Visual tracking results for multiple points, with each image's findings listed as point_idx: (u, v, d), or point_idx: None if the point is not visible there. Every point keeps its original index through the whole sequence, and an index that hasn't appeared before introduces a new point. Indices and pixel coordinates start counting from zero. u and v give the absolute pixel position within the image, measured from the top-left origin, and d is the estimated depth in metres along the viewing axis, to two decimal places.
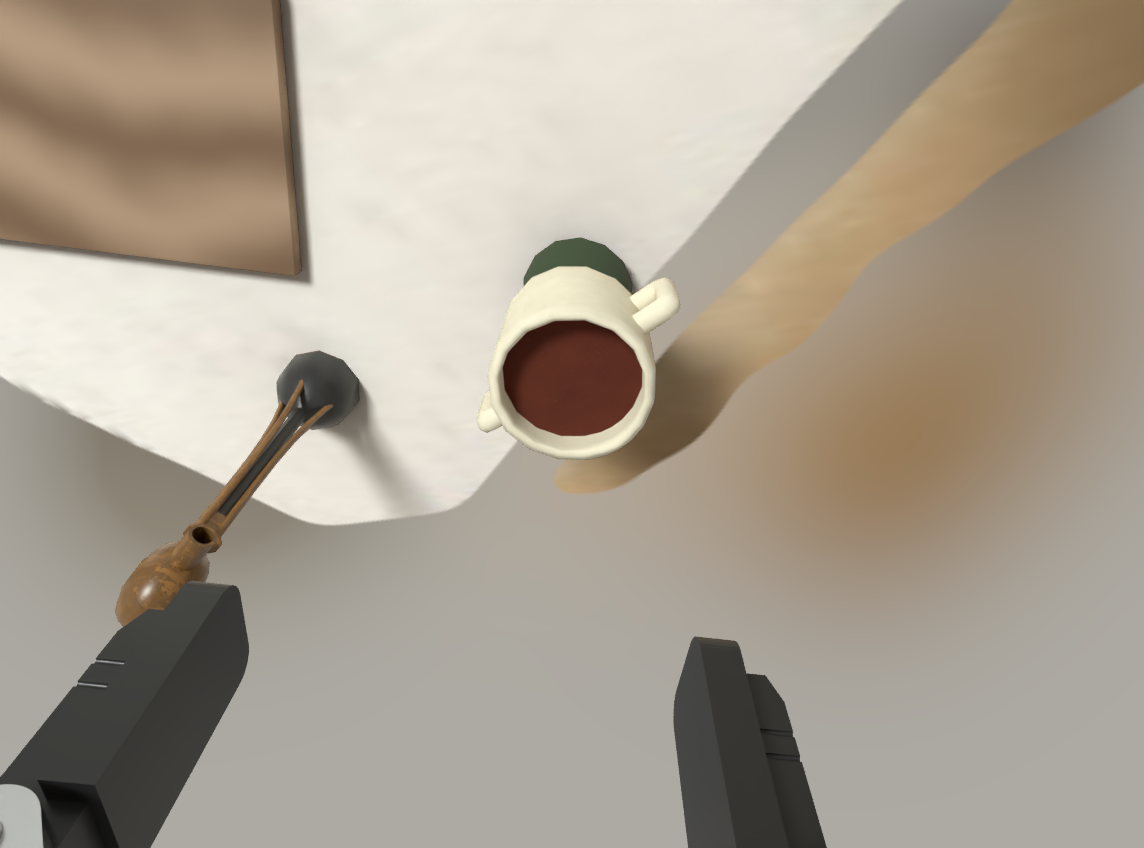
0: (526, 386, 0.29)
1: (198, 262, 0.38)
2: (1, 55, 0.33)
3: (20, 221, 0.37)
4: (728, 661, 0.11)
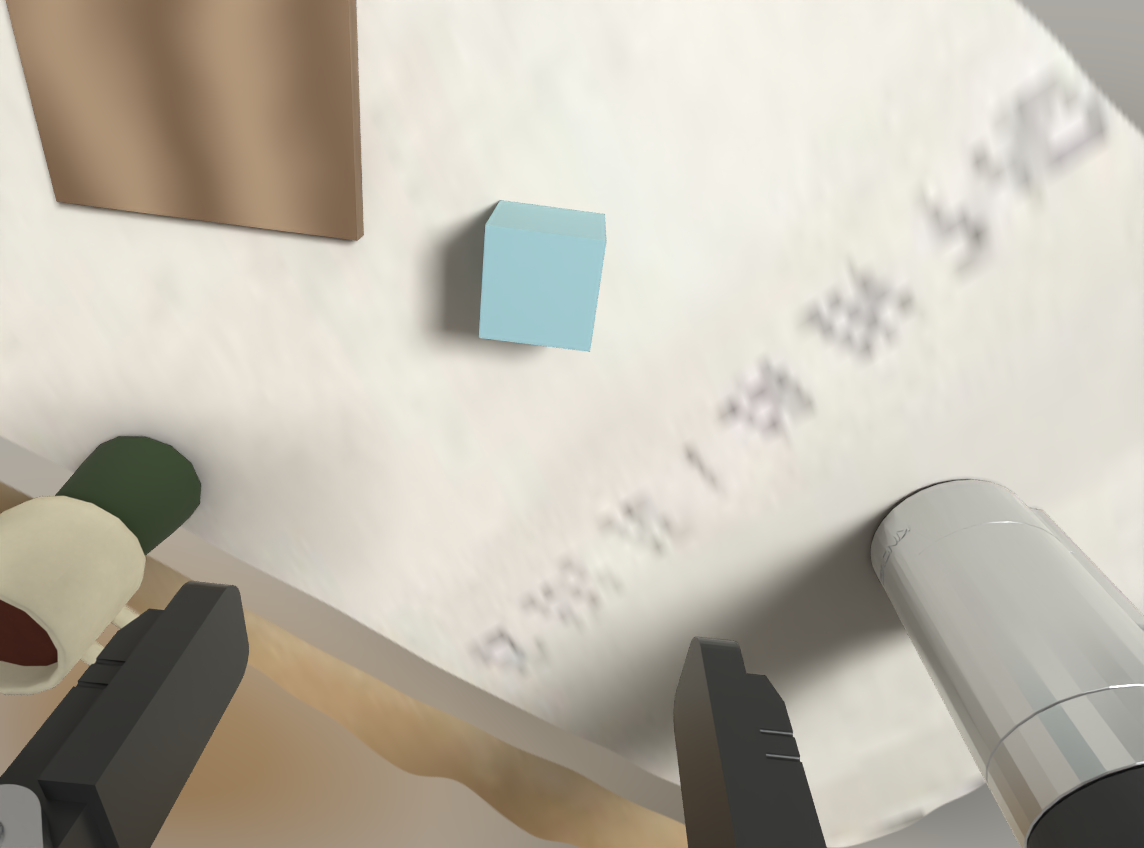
0: None
1: (25, 72, 0.29)
2: None
3: None
4: (728, 661, 0.11)
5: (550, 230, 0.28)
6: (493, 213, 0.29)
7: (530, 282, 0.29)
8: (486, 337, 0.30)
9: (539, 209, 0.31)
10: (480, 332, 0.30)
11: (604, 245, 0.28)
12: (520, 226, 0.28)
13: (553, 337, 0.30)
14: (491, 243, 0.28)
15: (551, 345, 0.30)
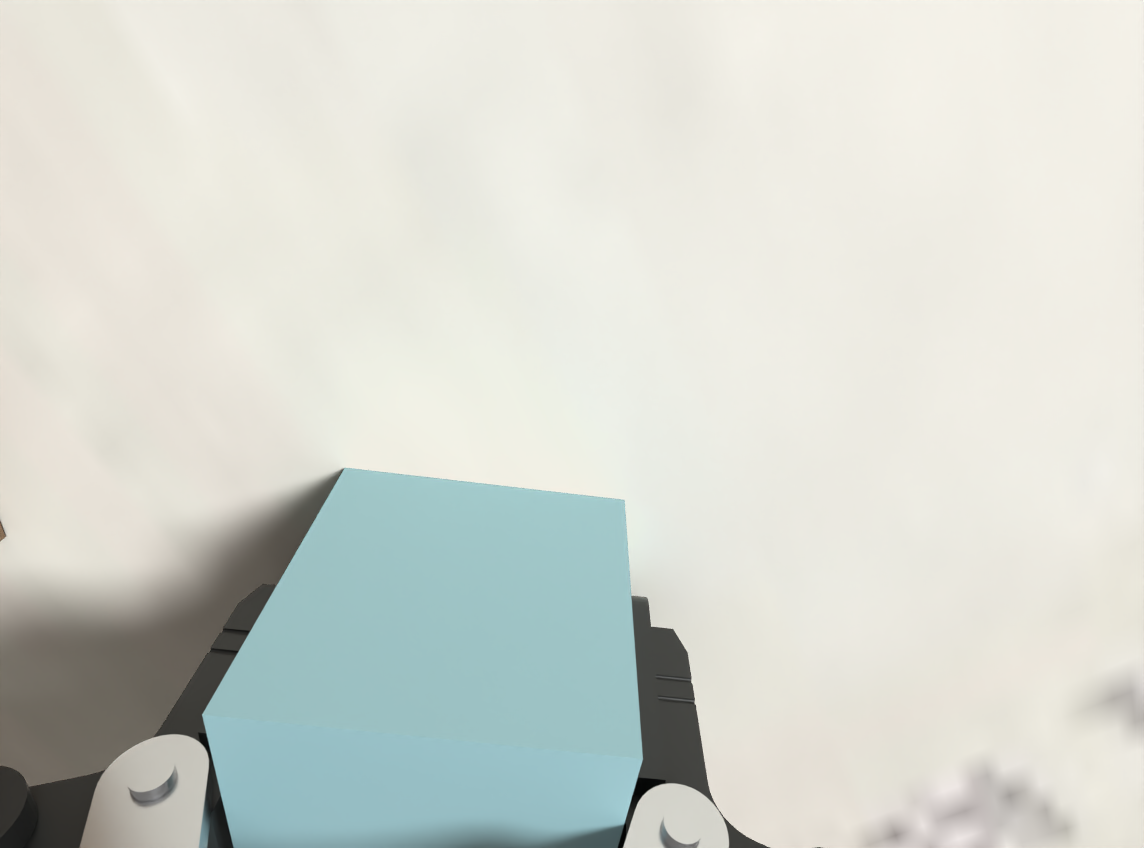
0: None
1: None
2: None
3: None
4: (635, 614, 0.12)
5: (447, 698, 0.08)
6: (282, 583, 0.09)
7: (389, 838, 0.09)
8: None
9: (444, 511, 0.11)
10: None
11: (635, 768, 0.08)
12: (343, 687, 0.08)
13: None
14: (237, 756, 0.08)
15: None
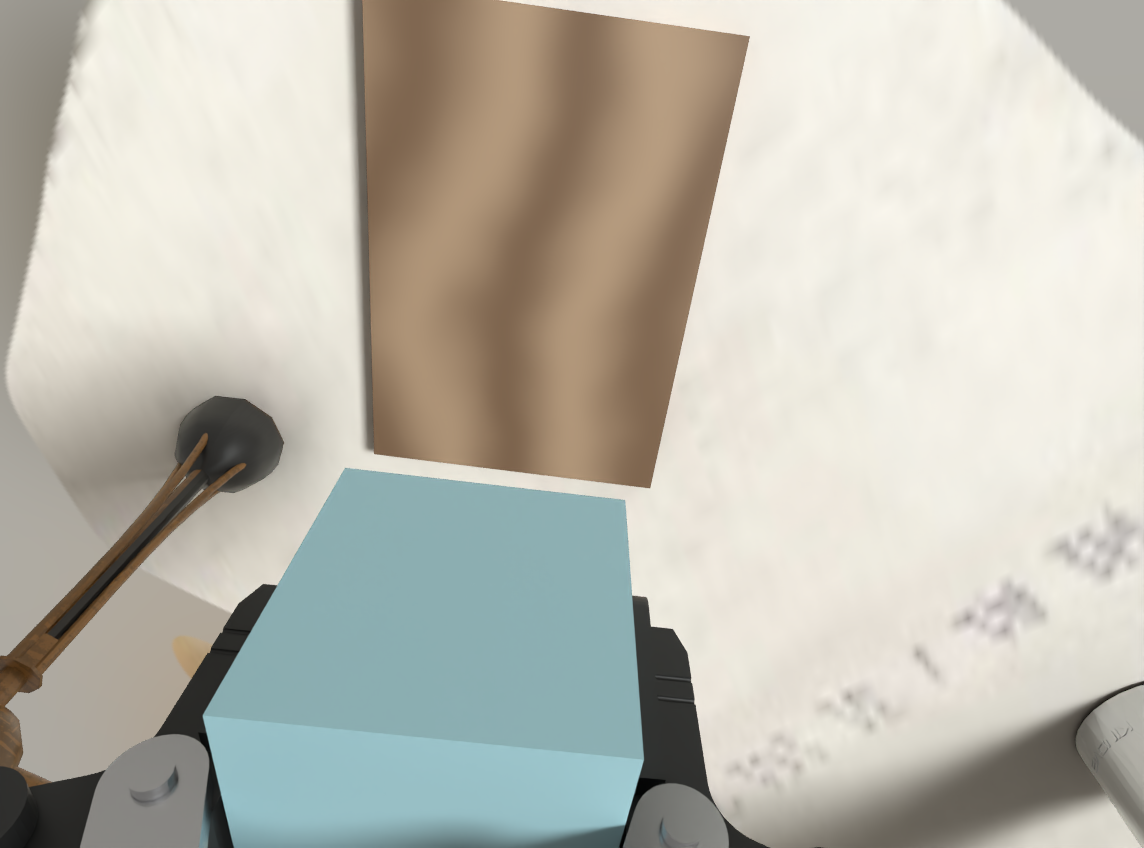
0: None
1: (373, 356, 0.31)
2: (596, 204, 0.27)
3: (394, 139, 0.26)
4: (635, 614, 0.12)
5: (448, 699, 0.08)
6: (282, 584, 0.09)
7: (390, 839, 0.09)
8: None
9: (444, 512, 0.11)
10: None
11: (636, 769, 0.08)
12: (343, 687, 0.08)
13: None
14: (238, 757, 0.08)
15: None
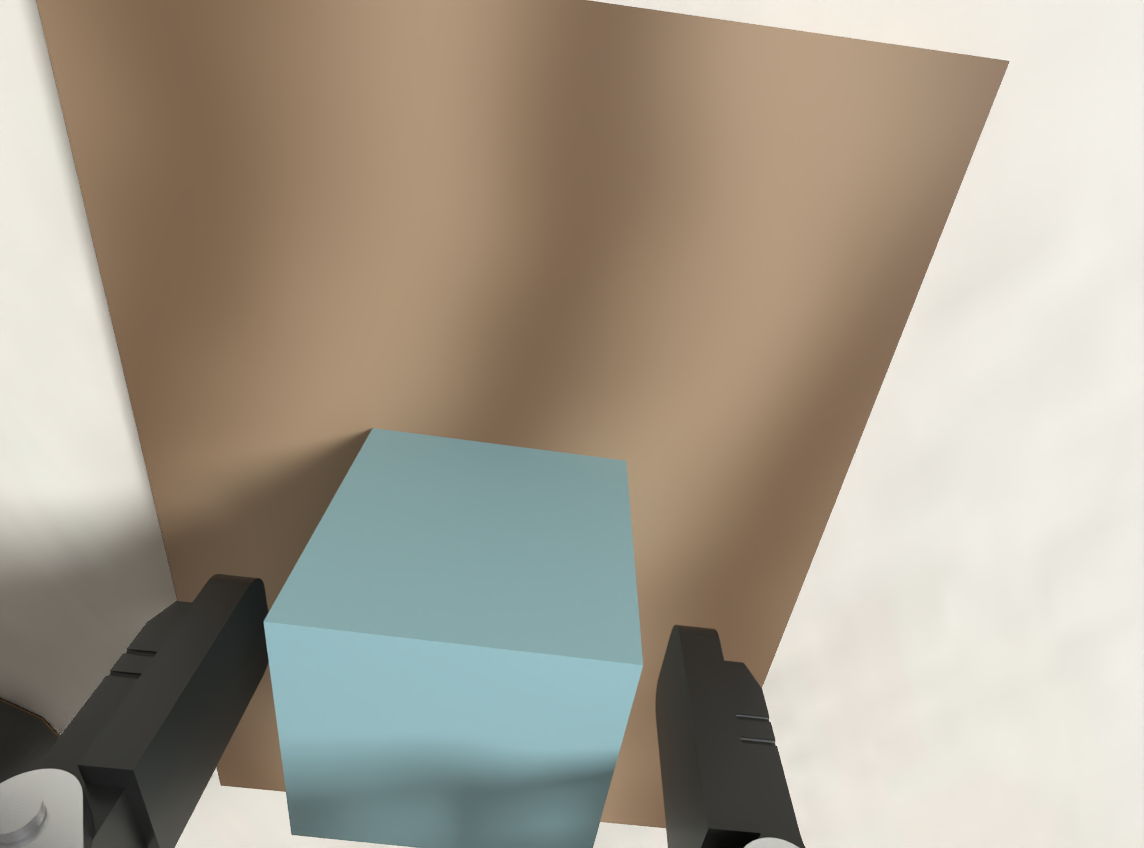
0: None
1: None
2: (620, 415, 0.13)
3: (168, 289, 0.12)
4: (707, 648, 0.11)
5: (473, 615, 0.09)
6: (323, 521, 0.10)
7: (419, 742, 0.10)
8: (311, 835, 0.11)
9: (464, 466, 0.12)
10: (294, 826, 0.11)
11: (636, 674, 0.09)
12: (382, 603, 0.09)
13: (490, 840, 0.11)
14: (291, 661, 0.09)
15: None
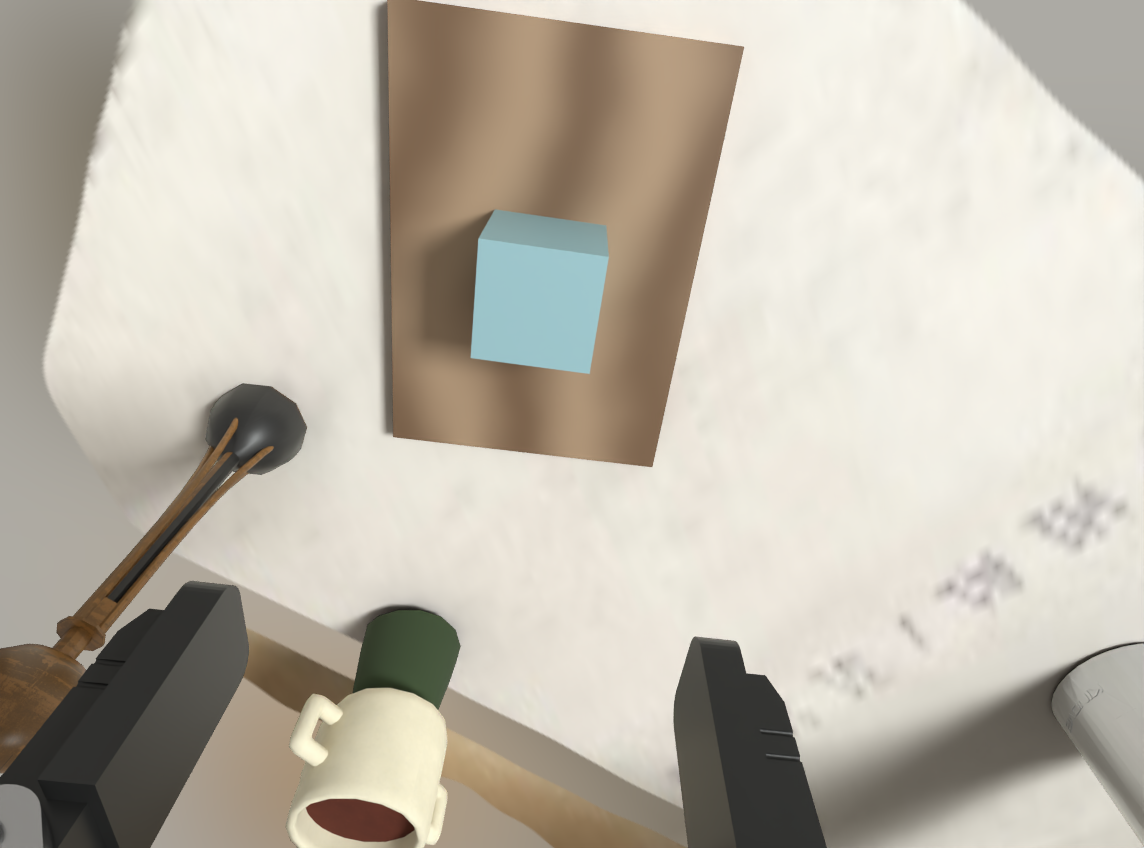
0: None
1: (393, 344, 0.33)
2: (603, 201, 0.29)
3: (416, 142, 0.28)
4: (728, 661, 0.11)
5: (548, 244, 0.26)
6: (487, 225, 0.27)
7: (527, 300, 0.27)
8: (478, 357, 0.28)
9: (536, 220, 0.29)
10: (472, 352, 0.28)
11: (606, 261, 0.26)
12: (516, 240, 0.26)
13: (550, 358, 0.28)
14: (485, 257, 0.26)
15: (548, 366, 0.28)
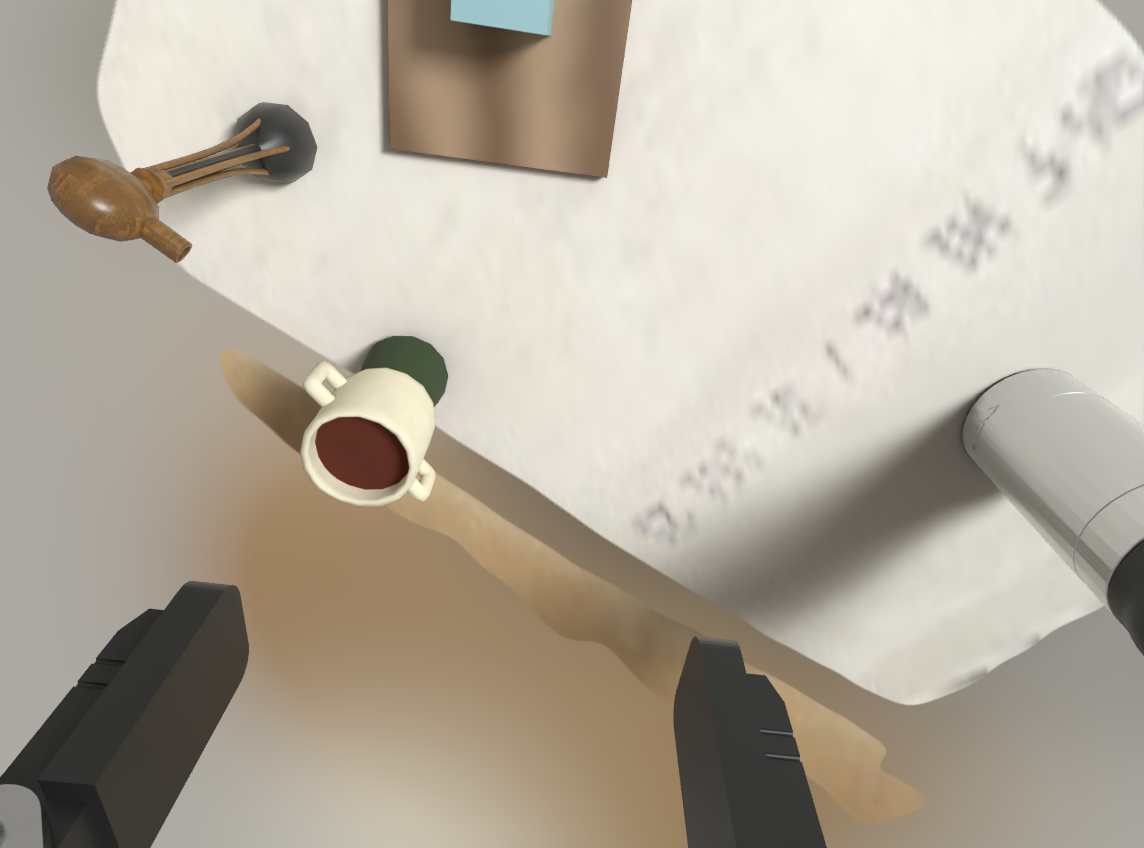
0: (350, 421, 0.40)
1: (389, 53, 0.40)
2: None
3: None
4: (728, 661, 0.11)
5: None
6: None
7: None
8: (457, 19, 0.35)
9: None
10: (451, 14, 0.35)
11: None
12: None
13: (514, 19, 0.35)
14: None
15: (512, 28, 0.35)
